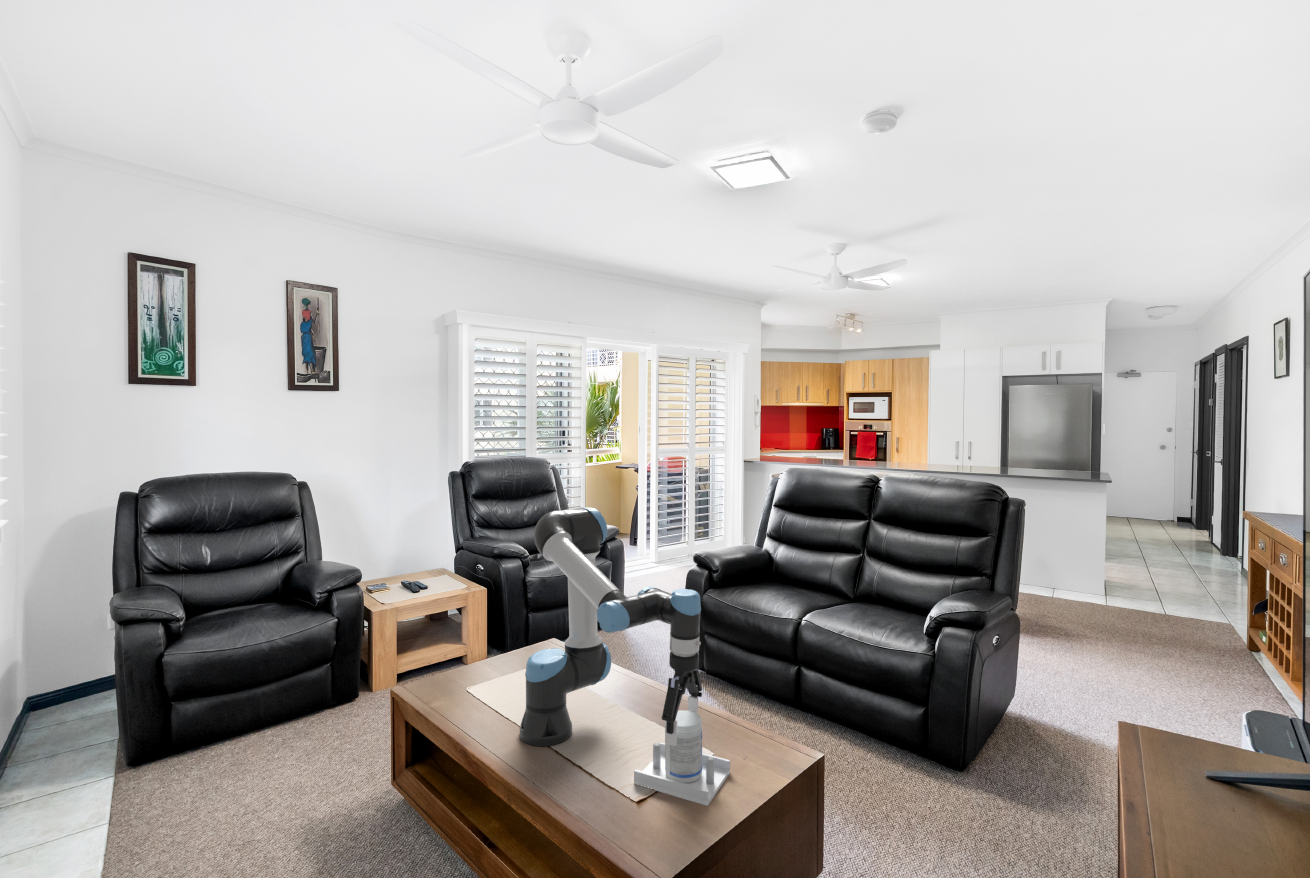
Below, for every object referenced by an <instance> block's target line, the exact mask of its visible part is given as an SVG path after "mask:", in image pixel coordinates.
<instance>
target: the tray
mask: <svg viewBox="0 0 1310 878" xmlns="http://www.w3.org/2000/svg"><path fill="white" fill-rule="evenodd" d="M730 774H731V760H730V759H727V758H724V757H719V756H715V755H712V754H708V753H705V752H702V774H701V776H700V777H699V778H698V779H697V780H695V781H693V782H689V783H681V782H678V781H674V780H671V779H670V778H669V777H668V776H667V775H666V772H665V742H660V743H659V742H654V743H653V744H652V761H650V762H649V764H648V765H646V767H645V768H644V769H643V770H639V769H635V770H633V785H635V784H638V785H637V786H639V785H642V786H645V787H649V788H652V789H654V790H653V791H657V792H660V793H662V794H665V795H670V796H673V797H676V798H680V799H683V800H686V801H689V802H694V803H697V804H700V805H702V806H707V807H708V806H709V805H710V803H711V802H712V800H713V799H714V798H715V796H716V794H717V793H718V792H719V790H720V788H721V787H722V786H723V784H724V783H725V781H727V778H728V777H729V775H730ZM642 786H641V787H642ZM645 787H644V788H645ZM649 788H648V789H649ZM652 789H651V790H652Z"/></svg>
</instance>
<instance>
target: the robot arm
mask: <svg viewBox="0 0 1310 878" xmlns="http://www.w3.org/2000/svg"><path fill="white" fill-rule="evenodd" d="M607 536H608V525H607V522H606V519H605V516H604V515H602V513H601V512H600V511H599V510H598V509H597V508H594V507H576V508H569V509H568V508H567V509H562V510H552V511H549V512H547V513H545V514H544V515H543V516H541V517H540V518H539V520H538V521H537V523H536V525H535V528H534V532H533V538H534V539H533V540H534V544H535V546H536V549H537V550H538V552H539V554H540V555H541V556H542V557H543V559H545V560H547V561H548V562H552V563H554V565H555V566H557V568H558V569H559V570H560V571H561V572H562V573H563V574H564V575H565V576H566V577H567V595H568V599H567V600H568V602H567V603H568V628H569V629H568V630H569V631H568V632H569V633H568V634H569V636H568V637H567V639H565V641H564V649H562V648H558V647H556V648H555V647H552V648H544V649H541V650H538V651H536V652H534V653H533V654H532V655H530V656H529V657H528V659H527V661H526V666H525V667H526V668H525V673H524V675H525V711H524V713H523V715H522V716H523V717H522V719H521V722H520V725H519V738H520V740H521V741H522V742H524V743H525V744H527V745H530V746H535V747H536V746H537V747H550V746H555V745H558V744H561V743H563V742H566V741H567V740H568V739H569V738H570V737H571V736H570V735H572V734H573V722H572V720H571V716H570V714H569V711H568V708H567V694H570V693H571V692H574V691H577V690H581V689H583V688H586V687H589V686H594V685H597V683H600V682H602V681H604V680H605V679H606V678H607V677H608V676H609V674H610V672H611V667H612V655H611V652H609V647H608V645H606V643H605V642H604V641H603V638H602V637H601V636H600V635H599V634H598V623H599V628H600V629H601V630H602V631H603V632H606V633H610V634H611V633H616V632H623V631H625V630H628V629H630V628H634V627H638V626H641V625H645V624H649V623H652V622H655V621H660V622H662V623H666V624H668V625H670V629H669V631H670V632H669V661H668V662H669V667H670V668H671V669H673V670H674V674H673V677H669V678H668V680H667V681H668V683H667V690H666V695H665V700H664V706H663V709H662V710H663V711H662V716H661V720H662V721H666V742H665V741H664V743H665V744H668V745H672V746H676V745H677V719H676V716H677V712H678V711H679V709H680V704H681V702H682V698H683V695H685V694H686V691H687V692H688V694H689V695H688V696H687V709H686V711H692V712H695V713H697V714H698V715H699V698H702V697H703V696H702V695H703V693H702V690H703V685H702V681H701V676H700V671H699V665H700V664H699V663H700V653H699V651H700V646H701V643H702V642H701V641H700V627H701V625H700V624H701V611H702V606H701V595H700V593H699V592H698V591H696V590H694V589H687V588H679V589H675V590H673V591H672V592H671V593H670V592H667V591H665V590H662V589H661V588H657V587H651V586H646V587H643V588H642V589H641V590H640V591H639V592H637V594H635V595H631V596H626V595H625V594H624V593H623V592H622V591H621V590H620V589H619V588H618V587H617V586H616V585H615V584H614V583H613V582H612V581H611V580H610V579H609V578H608V577H607V576H606V575H605V574H604V573H603V571H601V570H600V569H599V568H598V567H597V566H596V557H597V556H598V555H599V553H600V552H601V544H603V543H604V542H605V541H606V538H607Z"/></svg>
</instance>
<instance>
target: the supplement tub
mask: <svg viewBox="0 0 1310 878" xmlns="http://www.w3.org/2000/svg"><path fill="white" fill-rule="evenodd" d="M676 719H677V745H676V746H672V745H668V744H665V772H666V775H667V776H668V777H669V778H670V779H671V780H674V781H678V782H681V783H689V782H693V781H695V780H697V779H698V778H699V777H700V776H701V774H702V753H703V722H702V717H701V716H700V714H699V713H698V714H697V713H695V712H692V711H687V709H686V710H681V709H680V710H678V712H677V716H676ZM664 721H665V720H664ZM665 742H666V721H665V722H664V743H665Z"/></svg>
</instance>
